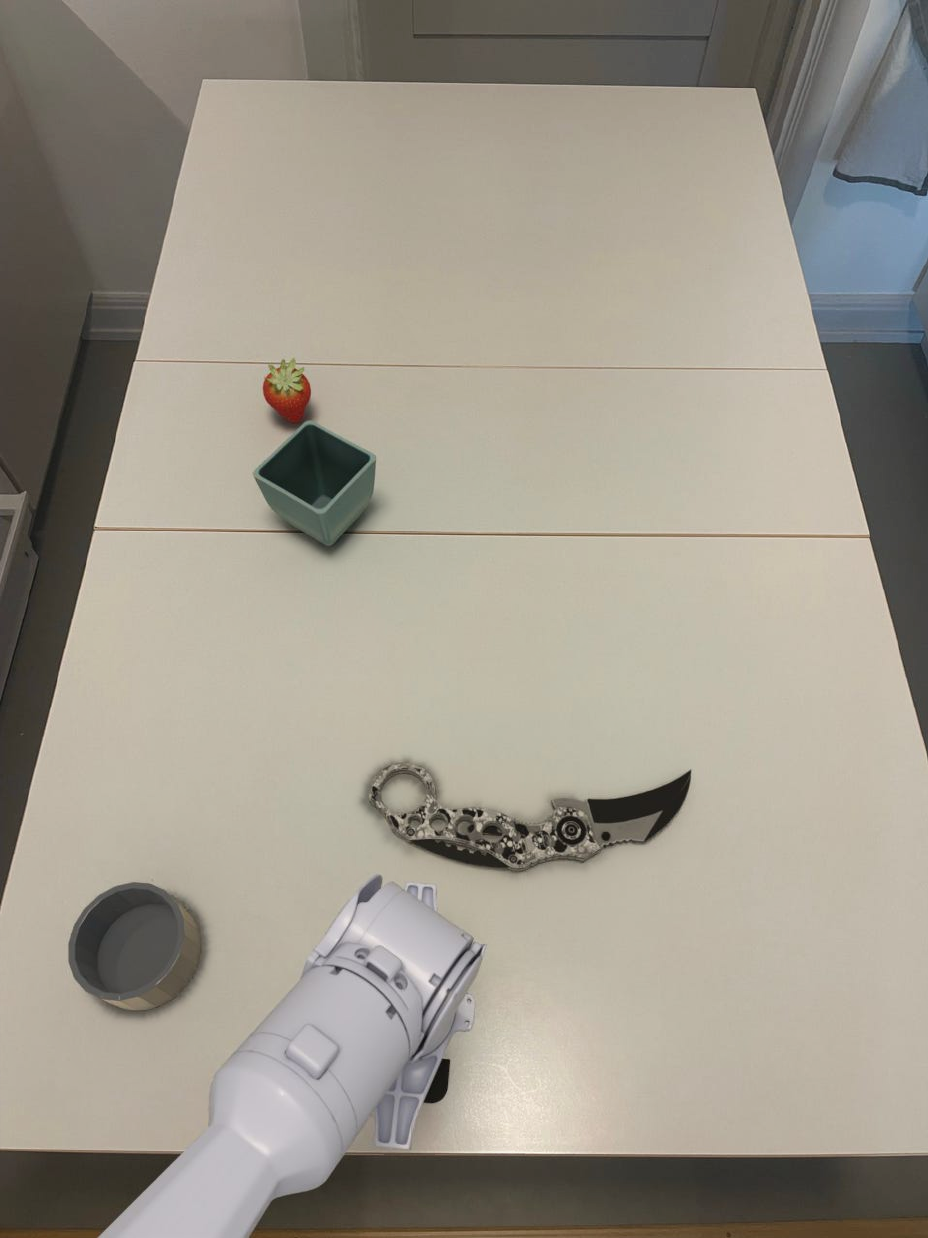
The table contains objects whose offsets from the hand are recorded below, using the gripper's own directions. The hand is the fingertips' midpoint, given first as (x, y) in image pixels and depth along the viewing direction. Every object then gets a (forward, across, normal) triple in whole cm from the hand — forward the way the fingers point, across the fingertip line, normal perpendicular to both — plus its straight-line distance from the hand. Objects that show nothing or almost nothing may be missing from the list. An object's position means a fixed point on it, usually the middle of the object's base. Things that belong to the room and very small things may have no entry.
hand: (411, 1025), depth 60 cm
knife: (+9, +18, -8) cm, 22 cm away
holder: (+9, +4, +22) cm, 24 cm away
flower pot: (+9, +48, +15) cm, 51 cm away
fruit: (+9, +62, +21) cm, 66 cm away
